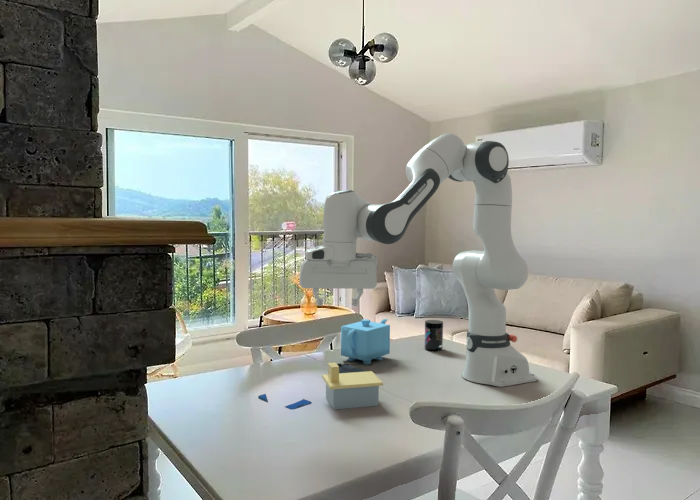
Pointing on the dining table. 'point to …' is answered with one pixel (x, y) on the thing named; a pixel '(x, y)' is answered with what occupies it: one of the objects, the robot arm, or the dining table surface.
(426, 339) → the supplement container
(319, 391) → the dining table surface
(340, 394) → the tub
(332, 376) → the lid
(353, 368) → the electronic device
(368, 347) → the teapot
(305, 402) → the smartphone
